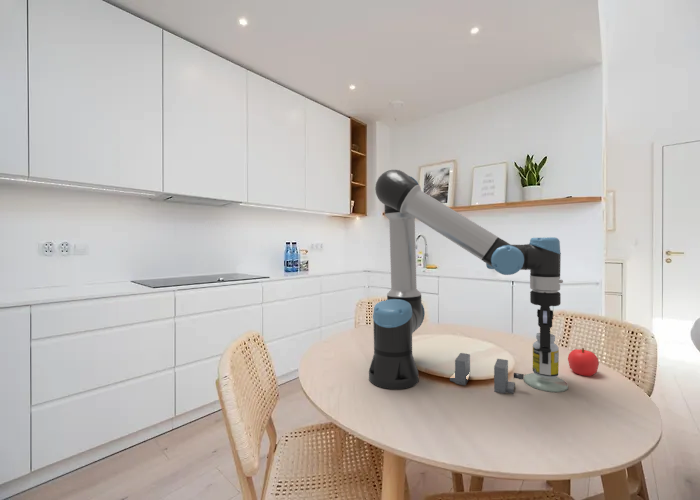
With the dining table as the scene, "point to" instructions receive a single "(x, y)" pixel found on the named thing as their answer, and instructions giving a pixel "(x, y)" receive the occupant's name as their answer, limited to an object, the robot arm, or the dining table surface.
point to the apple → (583, 362)
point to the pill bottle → (554, 357)
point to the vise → (499, 374)
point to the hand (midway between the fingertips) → (545, 369)
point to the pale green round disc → (546, 383)
